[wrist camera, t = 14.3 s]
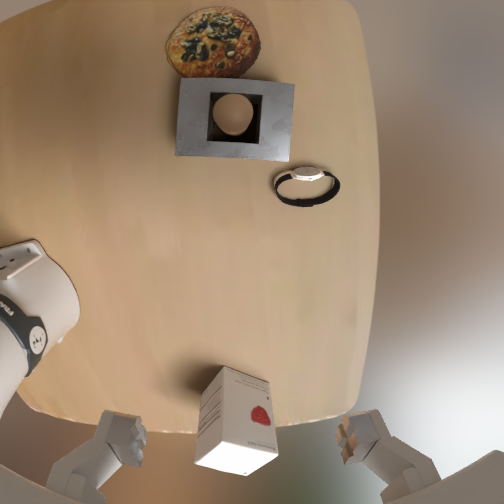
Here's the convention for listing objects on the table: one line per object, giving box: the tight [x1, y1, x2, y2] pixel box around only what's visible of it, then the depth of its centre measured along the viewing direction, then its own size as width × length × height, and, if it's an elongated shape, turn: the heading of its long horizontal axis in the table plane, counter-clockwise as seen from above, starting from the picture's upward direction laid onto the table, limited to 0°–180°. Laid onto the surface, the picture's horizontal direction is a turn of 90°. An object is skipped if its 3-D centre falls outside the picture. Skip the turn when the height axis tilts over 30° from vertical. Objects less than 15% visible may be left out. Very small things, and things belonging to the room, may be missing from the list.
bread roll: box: [166, 7, 261, 79], centre depth 25 cm, size 11×11×5 cm
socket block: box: [175, 78, 295, 162], centre depth 28 cm, size 11×8×6 cm
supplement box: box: [194, 366, 278, 476], centre depth 38 cm, size 9×9×15 cm
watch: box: [275, 167, 340, 207], centre depth 32 cm, size 8×5×4 cm, turn 97°
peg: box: [213, 94, 253, 137], centre depth 25 cm, size 3×3×12 cm
